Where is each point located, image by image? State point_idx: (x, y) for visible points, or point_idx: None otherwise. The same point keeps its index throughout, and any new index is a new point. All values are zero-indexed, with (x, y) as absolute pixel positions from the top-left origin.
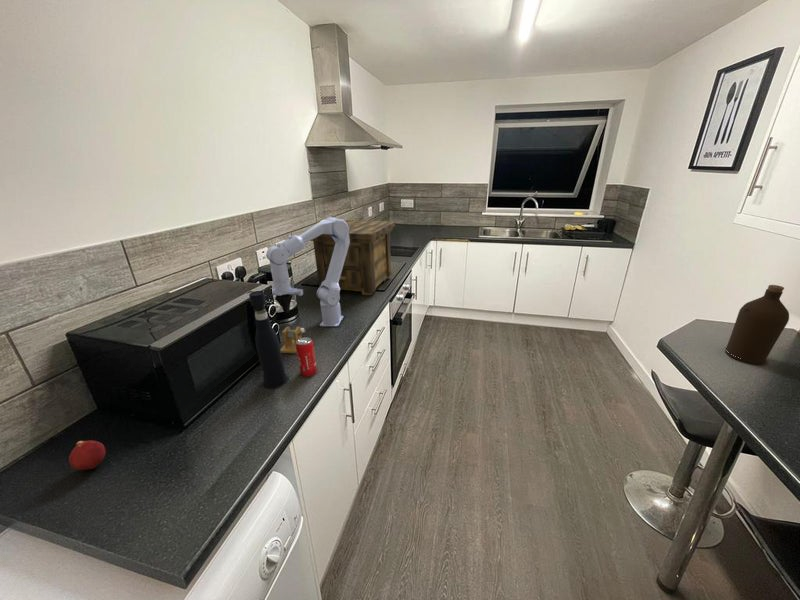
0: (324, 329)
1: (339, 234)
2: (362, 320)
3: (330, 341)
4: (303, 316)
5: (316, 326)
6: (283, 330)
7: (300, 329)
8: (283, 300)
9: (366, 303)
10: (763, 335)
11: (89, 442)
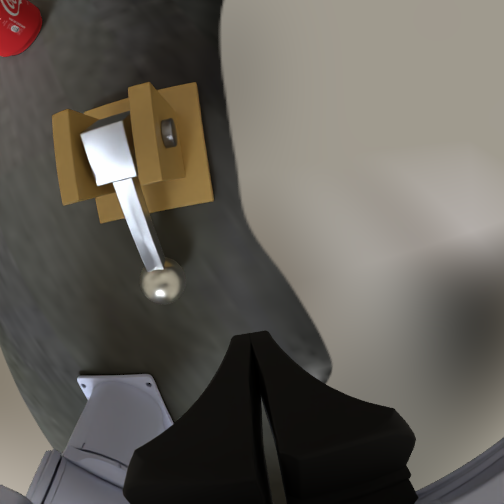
0: (113, 351)
1: None
2: (44, 414)
3: (29, 255)
4: None
5: (167, 371)
6: (151, 106)
7: (156, 277)
8: (226, 438)
9: None
10: None
11: None
